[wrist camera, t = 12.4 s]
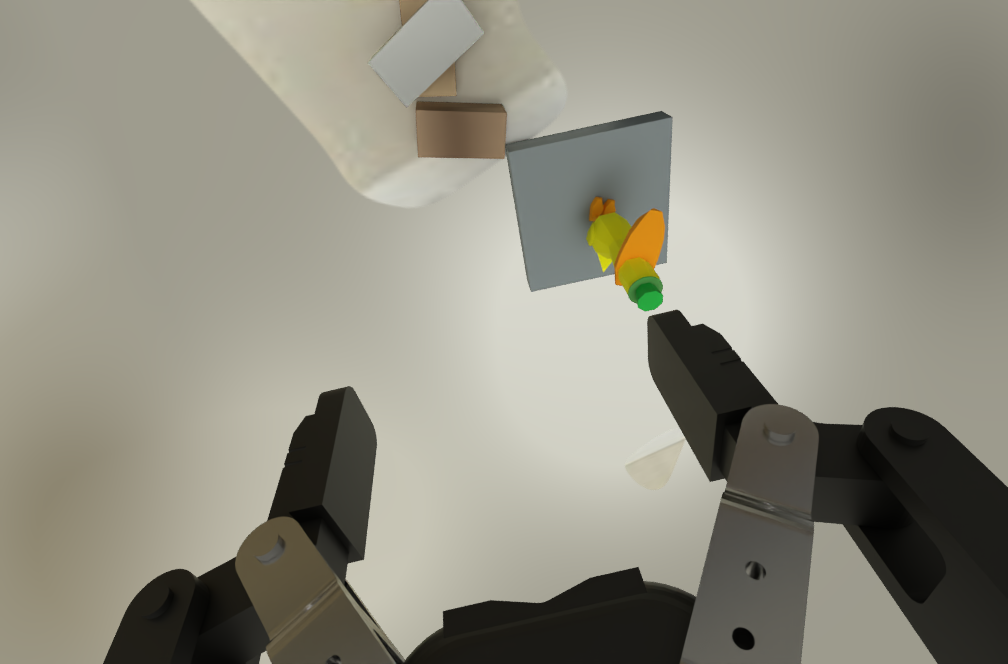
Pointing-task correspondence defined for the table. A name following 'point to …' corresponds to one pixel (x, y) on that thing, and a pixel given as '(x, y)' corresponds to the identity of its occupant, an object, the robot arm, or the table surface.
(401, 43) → the grey brick
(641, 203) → the slate stand
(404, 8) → the oak brick
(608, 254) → the toy figure
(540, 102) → the table surface
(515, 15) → the table surface
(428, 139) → the walnut brick
